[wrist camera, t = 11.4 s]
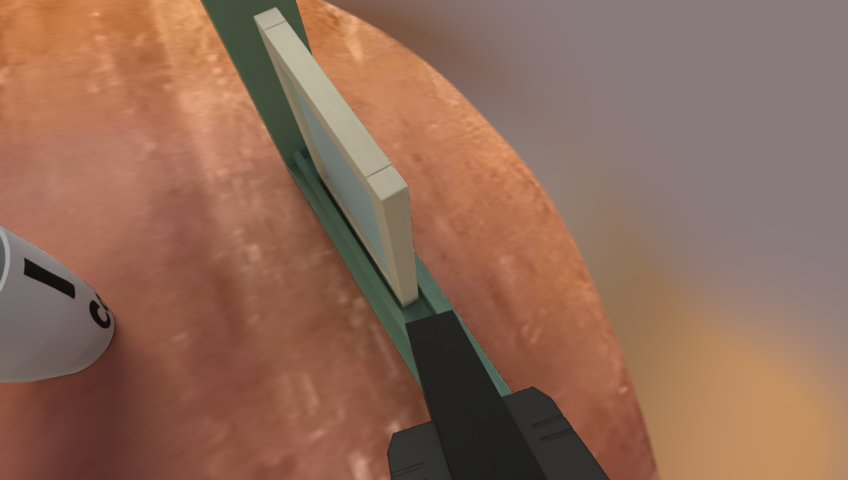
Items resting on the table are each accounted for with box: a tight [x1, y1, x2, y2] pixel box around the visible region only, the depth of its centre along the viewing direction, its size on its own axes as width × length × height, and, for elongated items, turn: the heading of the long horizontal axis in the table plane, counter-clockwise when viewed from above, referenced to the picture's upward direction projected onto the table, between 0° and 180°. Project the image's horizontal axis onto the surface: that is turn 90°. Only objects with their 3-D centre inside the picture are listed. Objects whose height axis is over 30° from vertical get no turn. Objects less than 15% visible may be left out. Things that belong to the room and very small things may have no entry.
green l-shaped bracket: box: [200, 0, 512, 397], centre depth 23 cm, size 27×4×17 cm, turn 33°
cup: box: [0, 225, 114, 383], centre depth 25 cm, size 8×8×10 cm
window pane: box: [254, 7, 418, 308], centre depth 24 cm, size 12×1×13 cm, turn 32°
